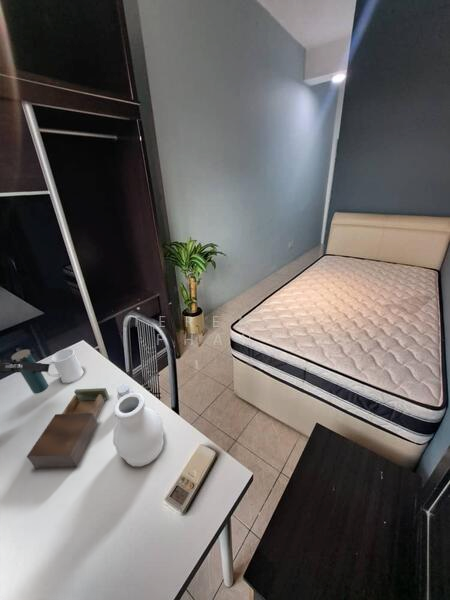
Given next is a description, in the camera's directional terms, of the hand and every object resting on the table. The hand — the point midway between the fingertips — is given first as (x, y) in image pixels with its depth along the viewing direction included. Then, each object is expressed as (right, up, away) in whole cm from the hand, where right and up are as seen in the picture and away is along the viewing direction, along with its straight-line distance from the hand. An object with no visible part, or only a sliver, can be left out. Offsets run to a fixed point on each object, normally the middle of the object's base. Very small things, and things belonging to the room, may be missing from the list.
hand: (40, 368), depth 90 cm
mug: (0, -9, +16) cm, 19 cm away
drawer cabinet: (+17, -22, -10) cm, 30 cm away
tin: (0, -7, 0) cm, 7 cm away
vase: (+42, -22, -12) cm, 49 cm away
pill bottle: (+32, -14, +2) cm, 35 cm away
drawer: (+17, -15, 0) cm, 23 cm away
